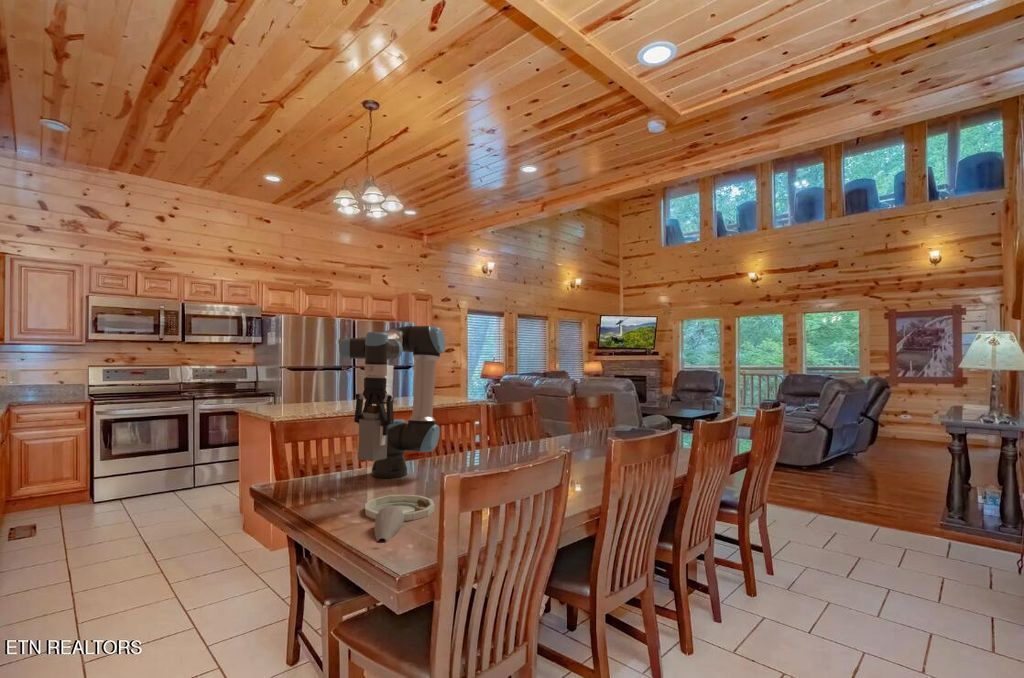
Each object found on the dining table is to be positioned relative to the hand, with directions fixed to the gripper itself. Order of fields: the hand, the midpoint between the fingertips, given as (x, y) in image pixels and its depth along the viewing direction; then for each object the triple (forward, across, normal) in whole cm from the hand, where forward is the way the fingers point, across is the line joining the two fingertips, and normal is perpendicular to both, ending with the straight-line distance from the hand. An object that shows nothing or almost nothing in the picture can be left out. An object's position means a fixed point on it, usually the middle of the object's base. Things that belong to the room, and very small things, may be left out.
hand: (373, 444), depth 176 cm
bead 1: (+20, +17, +3) cm, 27 cm away
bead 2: (+20, +20, -5) cm, 29 cm away
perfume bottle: (+5, 0, 0) cm, 5 cm away
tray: (+21, +12, -3) cm, 25 cm away
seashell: (+22, +18, -22) cm, 36 cm away
